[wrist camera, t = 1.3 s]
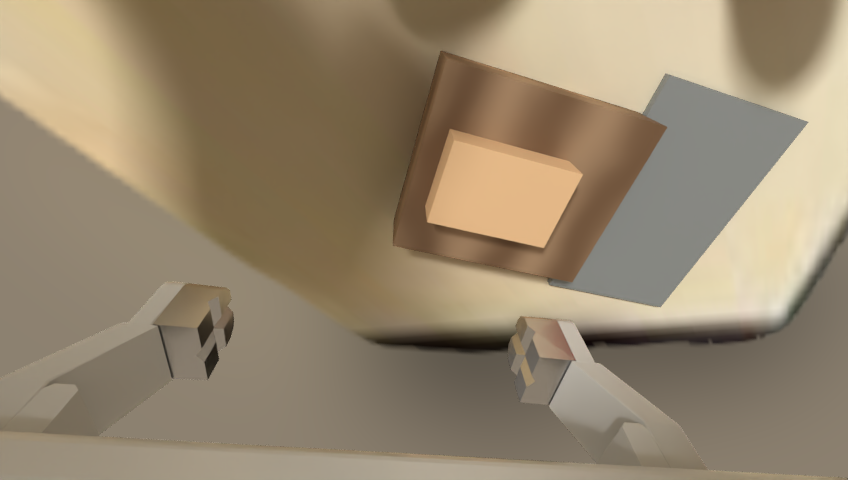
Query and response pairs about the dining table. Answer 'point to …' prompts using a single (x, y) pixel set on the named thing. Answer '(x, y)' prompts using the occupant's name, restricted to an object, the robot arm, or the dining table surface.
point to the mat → (684, 190)
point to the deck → (532, 130)
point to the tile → (499, 189)
